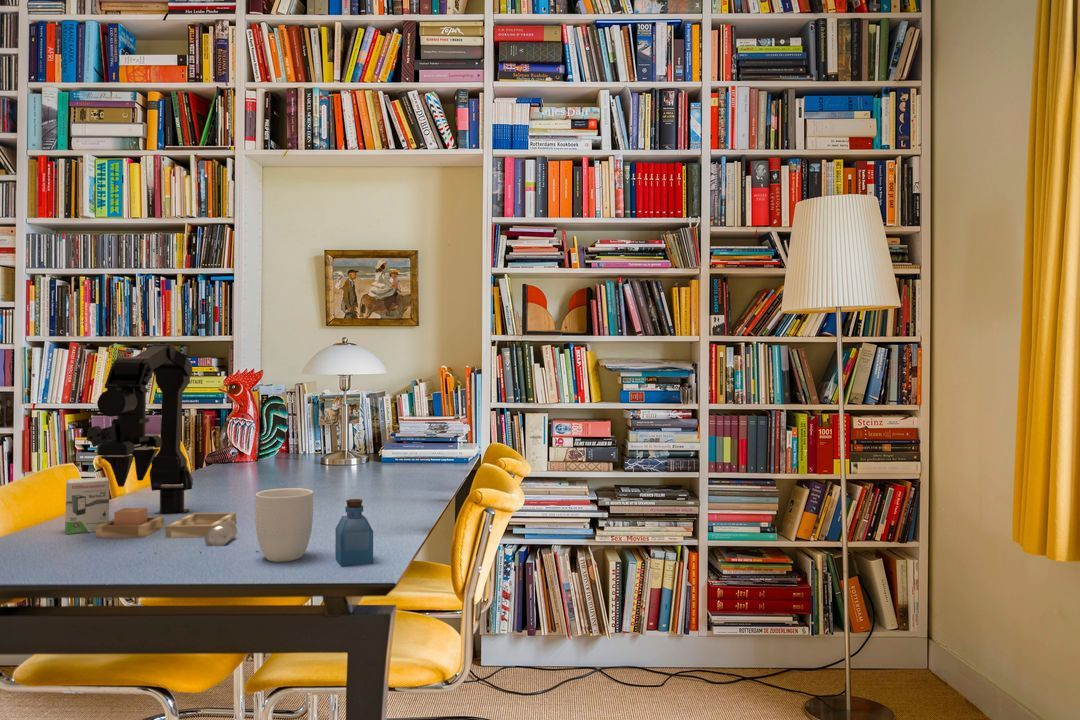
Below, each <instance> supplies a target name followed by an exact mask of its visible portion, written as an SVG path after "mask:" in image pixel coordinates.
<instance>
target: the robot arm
mask: <svg viewBox="0 0 1080 720" xmlns="http://www.w3.org/2000/svg"><path fill="white" fill-rule="evenodd" d="M192 374H193V366H192V363H191V361H190V359H189V357H188V356H187V355H186V354H184V353H183V352H180V351H179V350H177V349H176V347H175V346H174V344H171V343H155V344H151V345H150V346H149V348H147V349H145V350H144V351H141V352H140V353H139V354H136V355H134V356H123V357H117V358H116V359H115V360H114V361H113V363H112V365H111V366H110V369H109V372H108V375H107V378H106V381H105V384H104V389H107V390H105V391H103V392H102V393H101V394H100V396H99V397H98V399H97V403H96V404H97V405H96V406H97V409H98V411H99V412H100V413H101V414H102V415H104V416H105V417H110V418H112V417H116V418H113V419H112V420H111V426H107V427H104V428H101V426H100V425H96V426H91V427H89V428H88V429H87V433H86V435H87V437H86V442H90V443H91V446H92V448H95V447H97V448H96V451H97V452H96V453H97V454H96V456H100V458H101V459H102V460H104V461H106V462H107V463H109V465H110V466H111V470H112V472H113V475H114V478H115V482H116V483H117V487H118V488H123V487H124V486H125V485H126V482H127V478H128V476H129V473H130V470H131V467H132V463H133V462H134V466H135V474H136V480H137V481H139V482H141V481H143V480H144V479H145V477H146V475H147V472H148V471H149V481H150V488H151V491H152V492H153V491H159V510H158V511H156V512H155V513H154V515H168V514H169V515H174V514H175V515H176V514H177V515H179V514H185V513H188V512H190V508H185V491H188V490H192V489H193V485H194V483H193V480H194V479H193V476H192V473H191V472H190V469H189V467H188V460H187V458H186V456H185V454H184V453H183V451H182V450H181V443H182V442H181V438H182V417H183V416H182V413H183V411H182V410H183V409H182V408H183V393H184V392H185V390H186V389H187V388H188V386H189V384H190V383H191V382H190V381H191V376H192ZM153 375H154V376H155V383H156V386H158V388H159V390H160V391H161V411H160V412H161V414H160V416H161V417H160V436H159V434H146V424H147V423H150V418H149V417H147V416H146V415H147V413H146V411H147V410H146V409H147V408H146V406H147V403H146V402H147V399H146V398H147V393H148V388H147V386H148V385H149V382H150V381H151V378H153ZM133 460H134V461H133ZM150 466H151V467H150ZM149 469H150V470H149Z"/></svg>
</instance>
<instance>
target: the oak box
mask: <svg viewBox="0 0 1080 720" xmlns="http://www.w3.org/2000/svg"><path fill="white" fill-rule="evenodd" d="M164 519H165V518H164V516H147V522H146V523H144V524H142V525H114V519H111V520H110V519H109V521H108V522H106V523H103V524H101V525H98V526H96V532H95V539H97V538H98V539H101V538H102V539H104V538H105V539H106V538H107V539H108V538H111V539H113V538H114V539H115V538H116V539H117V538H118V539H119V538H121V539H122V538H127V539H129V538H146V537H147V536H150V535H152V534H155V533H156V532H158V531H160V530H162V529H164V525H165V523H164V522H165V520H164Z"/></svg>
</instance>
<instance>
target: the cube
mask: <svg viewBox="0 0 1080 720" xmlns="http://www.w3.org/2000/svg"><path fill="white" fill-rule="evenodd" d="M113 516H114V517H113V518H114V525H142V524H144V523H146V522H147V517H148V507H124V508H121V509H119V510H115V511H114V513H113Z"/></svg>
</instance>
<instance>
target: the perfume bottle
mask: <svg viewBox="0 0 1080 720" xmlns="http://www.w3.org/2000/svg"><path fill="white" fill-rule="evenodd" d="M345 502H346V506H345V507H344V508H345V510H344V511H345V513H346V515H342V516H341V518H340V519H339V521H338V523H337V524H336V527H335V545H334V546H335V547H334V548H335V552H334V553H335V555H334V557H335V558H334V559H335V561H336V563H337V564H338V566H340V567H353V566H361V565H362V566H363V565H372V564H374V531H373V528H372V527H371V524H370V522H369V521H368V518H366V516H364V514H363V512H364V505H362V504H363V499H360V498H352V499H351V498H350V499H346V500H345Z"/></svg>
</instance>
